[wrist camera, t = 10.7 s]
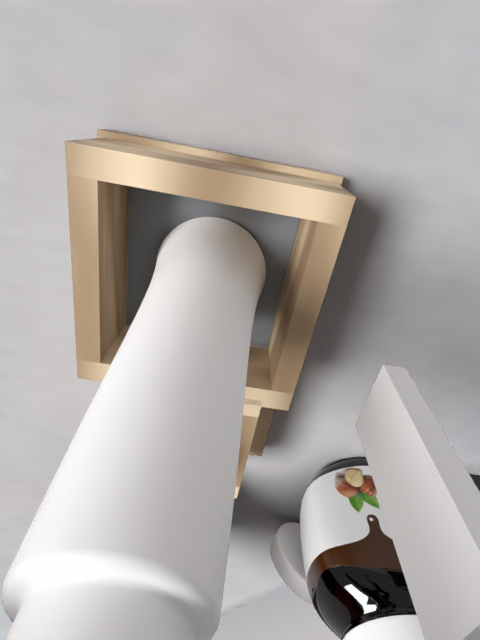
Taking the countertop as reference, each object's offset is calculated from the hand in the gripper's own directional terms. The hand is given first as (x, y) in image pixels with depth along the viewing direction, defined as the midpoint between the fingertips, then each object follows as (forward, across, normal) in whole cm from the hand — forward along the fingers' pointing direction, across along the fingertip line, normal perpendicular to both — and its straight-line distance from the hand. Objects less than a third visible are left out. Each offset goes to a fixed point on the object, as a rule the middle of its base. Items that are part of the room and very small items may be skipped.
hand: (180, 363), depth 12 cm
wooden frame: (+10, 0, -4) cm, 11 cm away
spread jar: (+10, +14, -19) cm, 26 cm away
